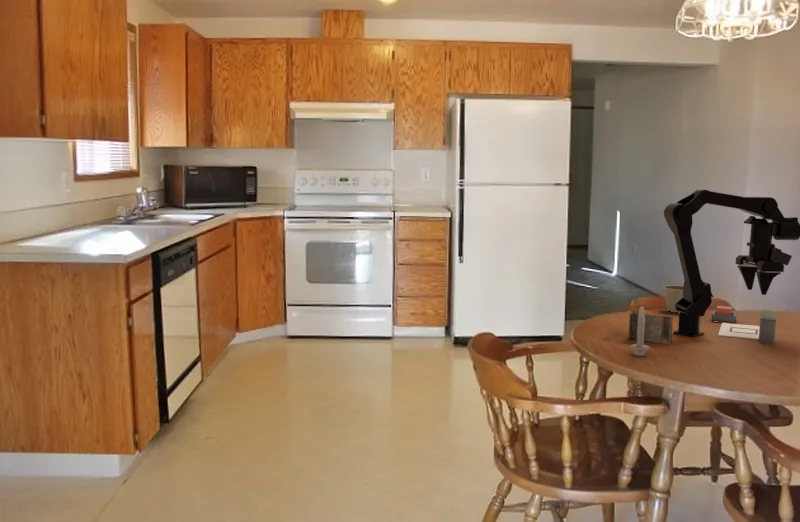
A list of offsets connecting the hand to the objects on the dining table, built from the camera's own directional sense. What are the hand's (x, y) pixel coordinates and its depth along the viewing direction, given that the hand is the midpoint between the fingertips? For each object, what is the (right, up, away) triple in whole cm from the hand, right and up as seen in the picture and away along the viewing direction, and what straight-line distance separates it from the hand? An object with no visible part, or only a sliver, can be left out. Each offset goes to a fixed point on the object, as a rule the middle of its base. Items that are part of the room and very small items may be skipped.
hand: (756, 292), depth 208 cm
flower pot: (-9, -9, +37) cm, 39 cm away
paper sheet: (-1, -12, +5) cm, 13 cm away
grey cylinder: (-2, -14, -9) cm, 17 cm away
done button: (0, -8, +21) cm, 23 cm away
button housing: (0, -10, +21) cm, 24 cm away
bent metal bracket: (-34, -14, -8) cm, 38 cm away
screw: (-43, -16, -24) cm, 52 cm away
